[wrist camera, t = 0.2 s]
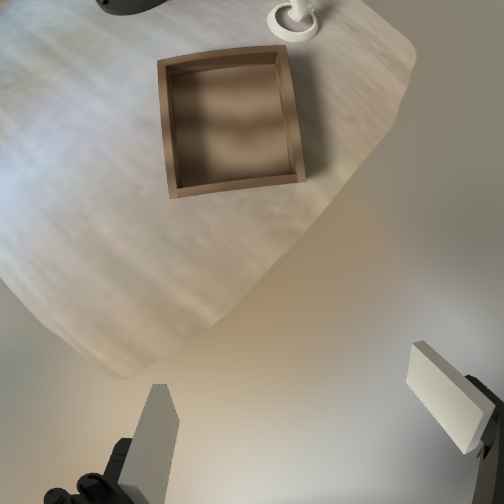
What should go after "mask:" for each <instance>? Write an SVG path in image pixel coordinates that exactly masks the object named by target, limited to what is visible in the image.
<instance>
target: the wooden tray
mask: <svg viewBox="0 0 504 504" xmlns="http://www.w3.org/2000/svg"><path fill="white" fill-rule="evenodd" d="M157 66H158V85H159V100H160V114H161V126H162V136H163V146H164V156H165V165H166V174H167V182H168V190H169V197H170V199H173V198H181V197H187V196H193V195H200V194H207V193H214V192H221V191H229V190H237V189H245V188H253V187H261V186H270V185H280V184H289V183H299V182H306V176H305V167H304V159H303V151H302V144H301V137H300V129H299V122H298V116H297V109H296V103H295V96H294V90H293V84H292V78H291V73H290V67H289V61H288V56H287V51H286V45H273V46H255V47H242V48H231V49H222V50H214V51H207V52H200V53H194V54H188V55H182V56H177V57H172V58H167V59H162V60H158V61H157Z"/></svg>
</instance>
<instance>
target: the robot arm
mask: <svg viewBox="0 0 504 504" xmlns="http://www.w3.org/2000/svg"><path fill="white" fill-rule="evenodd" d="M164 1H165V0H96V2H97V4H98V5H99V6H100V8H101V9H102V10H103V11H105V12H106V13H109V14H112V15H131V14H136V13H140V12H143V11H146V10H148V9H151V8H153V7H155V6H157V5H159V4H160V3H162V2H164ZM406 383H407V384H408V385H409V387H410V388H411V389H412V390H413V392H414V393H415V394H416V395H417V396H418V398H419V399H420V400H421V401H422V402H423V404H424V405H425V406H426V407H427V409H428V410H429V411H430V412H431V414H432V415H433V416H434V417H435V418H436V420H437V421H438V422H439V423H440V425H441V426H442V427H443V428H444V430H445V431H446V432H447V433H448V435H449V436H450V437H451V438H452V440H453V441H454V442H455V443H456V445H457V446H458V447H459V449H460V450H461V451H462V452H463V454H466V453H468V452H469V451H471V450H473V449H474V448H476V447H477V445H478V443H479V441H480V439H481V440H482V442H483V445H482V447H481V449H480V451H479V453H478V454H477V457H476V458H478V457H479V456H480V454H481V457H480V464H479V470H478V476H477V482H476V487H475V492H474V497H473V502H472V504H504V402H503V401H501V400H500V399H499V398H498V397H497V396H496V395H495V394H494V393H493V392H491V391H490V390H489V389H487V387H486V386H485V385H483V383H481V382H480V381H479V380H478V379H477V378H475V377H472V376H470V375H466V376H463V375H462V374H461V373H460V372H459V371H457V370H456V369H455V368H454V367H453V366H452V365H450V363H448V362H447V361H446V360H445V359H444V358H443V357H442V356H441V355H439V354H438V353H437V352H436V351H435V350H434V349H433V348H431V347H430V346H429V345H428V344H427V343H426V342H424V341H423V340H422V341H419V342H416V343H412V348H411V355H410V362H409V369H408V375H407V381H406ZM179 422H180V421H179V418H178V416H177V413H176V410H175V407H174V404H173V401H172V398H171V396H170V392H169V389H168V386H167V384H153V385H152V388H151V390H150V393H149V396H148V398H147V401H146V404H145V406H144V409H143V412H142V415H141V417H140V420H139V423H138V425H137V428H136V431H135V434H134V437H133V438H121V439H120V440H119V441H118V442H117V443H116V444H115V446H114V449H113V451H112V455H111V456H110V459H109V461H108V464H107V467H106V469H105V472H104V474H103V475H100V474H98V473H89V474H86V475H84V476H82V477H81V478H80V479H79V480H78V482H77V490H78V492H79V493H80V494H74V495H70V494H69V493H68V492H67V491H66V490H64V489H62V488H53V489H50V490H49V491H48V492H47V493H46V494H45V496H44V504H164V502H165V496H166V491H167V485H168V480H169V474H170V469H171V463H172V458H173V452H174V448H175V442H176V438H177V433H178V428H179Z"/></svg>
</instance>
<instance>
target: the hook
mask: <svg viewBox="0 0 504 504" xmlns="http://www.w3.org/2000/svg"><path fill="white" fill-rule="evenodd" d="M286 6H292V10H290V11H289V12H288V14H289V17H290V18H291V19H293V20H294V21H296V22H301V21H302V20H303V19H304V17H305V16H306V15H307V14H308V13H309V14H310V16H311V17H312V18H313V21H314V22H313V25H312V27H311V28H310V29H309V30H307V31H304V32H292V31H288V30H286V29H284V28H283V27H281V26H280V25H279V24H278V23H277V21H276V18H275V13H276V11H277V10H278V9H279V8H282V7H286ZM312 8H313V3H311V2H310V1H307V0H290V3H283V4H280V5H278V6H276V7H275V8H273V9H272V10H271V11H270V13H269V14H268V17H267V23H268V26H269V28H270V30H271V31H272V32H273V33H274V34H275V35H276V36H278V37H279V38H281V39H283V40H286V41H290V42H304V41H307V40H309V39H311V38H313V37H314V36H315V34H316V33H317V30H318V23H317V19H316V17H315V15H314V14H313V12H314V10H315V9H313V10H312Z"/></svg>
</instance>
